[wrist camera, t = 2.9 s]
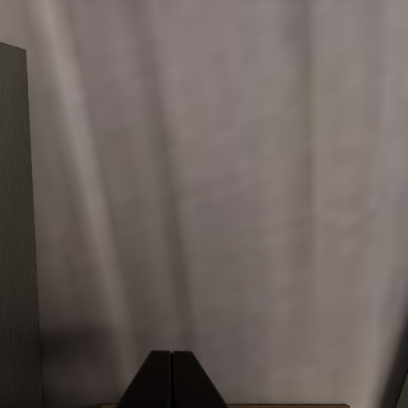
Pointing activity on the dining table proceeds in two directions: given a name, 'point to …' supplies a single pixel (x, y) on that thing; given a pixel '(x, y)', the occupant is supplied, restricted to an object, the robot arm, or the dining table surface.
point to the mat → (403, 395)
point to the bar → (17, 242)
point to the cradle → (270, 406)
